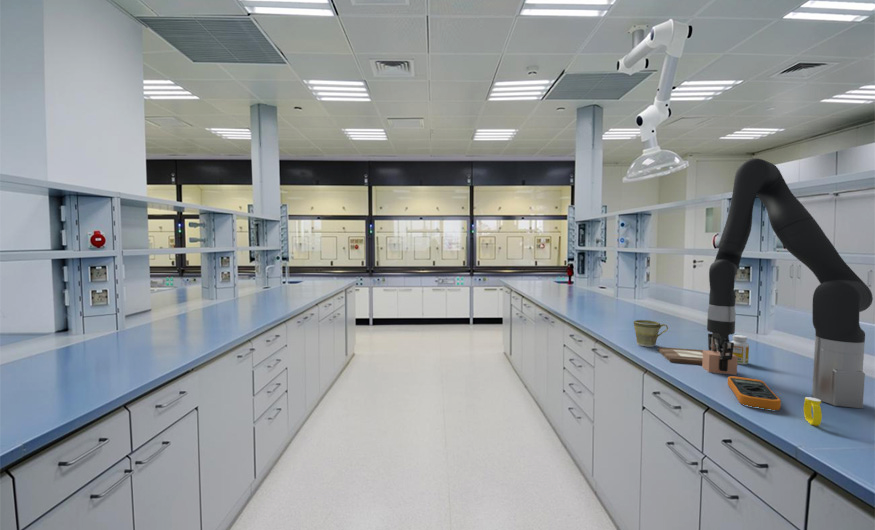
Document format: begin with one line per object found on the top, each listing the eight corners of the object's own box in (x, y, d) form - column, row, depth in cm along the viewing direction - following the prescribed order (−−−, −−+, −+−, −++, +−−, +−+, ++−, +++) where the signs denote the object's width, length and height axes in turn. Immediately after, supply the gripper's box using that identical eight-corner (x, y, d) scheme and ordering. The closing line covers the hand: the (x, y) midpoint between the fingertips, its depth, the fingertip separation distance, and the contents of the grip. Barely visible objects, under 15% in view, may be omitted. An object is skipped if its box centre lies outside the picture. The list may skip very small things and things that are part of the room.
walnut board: (728, 366, 133) (728, 362, 133) (670, 362, 138) (670, 357, 138) (709, 354, 148) (709, 350, 148) (657, 350, 153) (657, 346, 153)
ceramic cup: (635, 347, 158) (636, 323, 158) (630, 341, 168) (631, 319, 167) (670, 349, 154) (671, 325, 154) (663, 343, 164) (664, 320, 163)
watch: (799, 418, 94) (800, 394, 94) (814, 420, 92) (815, 396, 93) (809, 426, 88) (810, 401, 88) (825, 429, 87) (826, 403, 87)
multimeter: (740, 407, 100) (741, 395, 100) (726, 385, 116) (726, 374, 115) (783, 414, 96) (783, 401, 96) (762, 390, 112) (763, 379, 111)
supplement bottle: (741, 360, 140) (742, 334, 140) (751, 365, 135) (753, 338, 134) (725, 360, 141) (726, 334, 140) (735, 364, 135) (736, 337, 135)
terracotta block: (736, 374, 125) (737, 356, 124) (708, 372, 127) (709, 354, 127) (729, 369, 130) (729, 352, 130) (702, 367, 132) (702, 350, 132)
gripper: (745, 323, 120) (742, 375, 120) (724, 315, 133) (722, 362, 134) (717, 321, 122) (715, 373, 123) (700, 314, 135) (698, 360, 136)
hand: (719, 367), depth 128 cm, fingers closed on terracotta block, 5 cm apart
